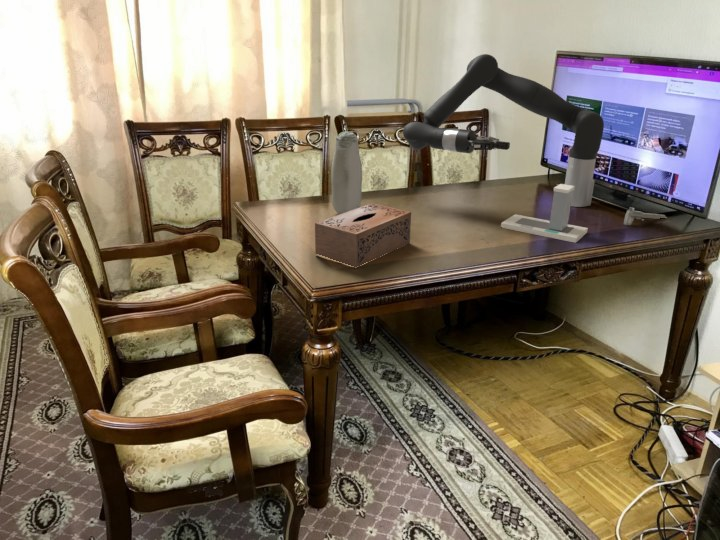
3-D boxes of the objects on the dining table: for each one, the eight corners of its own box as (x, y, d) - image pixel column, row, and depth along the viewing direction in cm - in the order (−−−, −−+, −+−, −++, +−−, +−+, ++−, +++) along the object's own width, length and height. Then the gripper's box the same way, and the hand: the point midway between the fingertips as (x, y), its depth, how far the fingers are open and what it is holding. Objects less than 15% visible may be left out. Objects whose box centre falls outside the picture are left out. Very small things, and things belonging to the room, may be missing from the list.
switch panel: (500, 227, 189) (501, 222, 188) (514, 218, 198) (515, 213, 198) (575, 242, 176) (576, 237, 176) (587, 232, 185) (587, 227, 185)
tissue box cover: (371, 234, 182) (371, 203, 178) (409, 244, 174) (411, 212, 170) (315, 257, 164) (314, 223, 160) (355, 269, 155) (356, 234, 152)
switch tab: (547, 228, 183) (553, 187, 178) (554, 223, 188) (560, 183, 183) (561, 231, 181) (568, 190, 176) (568, 226, 185) (574, 185, 180)
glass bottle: (329, 211, 203) (328, 129, 192) (357, 209, 205) (358, 128, 195) (334, 219, 194) (334, 134, 183) (364, 218, 196) (365, 133, 186)
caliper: (625, 226, 192) (629, 208, 190) (622, 225, 193) (626, 207, 191) (667, 218, 201) (671, 201, 198) (664, 218, 202) (668, 200, 199)
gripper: (450, 131, 188) (501, 137, 179) (468, 126, 198) (517, 131, 189) (449, 155, 191) (499, 161, 182) (466, 148, 201) (515, 154, 192)
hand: (508, 146), depth 185 cm, fingers closed
